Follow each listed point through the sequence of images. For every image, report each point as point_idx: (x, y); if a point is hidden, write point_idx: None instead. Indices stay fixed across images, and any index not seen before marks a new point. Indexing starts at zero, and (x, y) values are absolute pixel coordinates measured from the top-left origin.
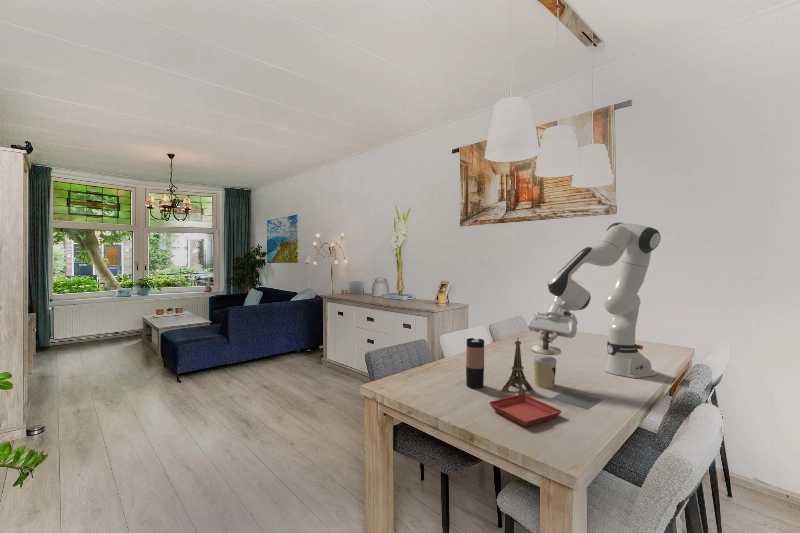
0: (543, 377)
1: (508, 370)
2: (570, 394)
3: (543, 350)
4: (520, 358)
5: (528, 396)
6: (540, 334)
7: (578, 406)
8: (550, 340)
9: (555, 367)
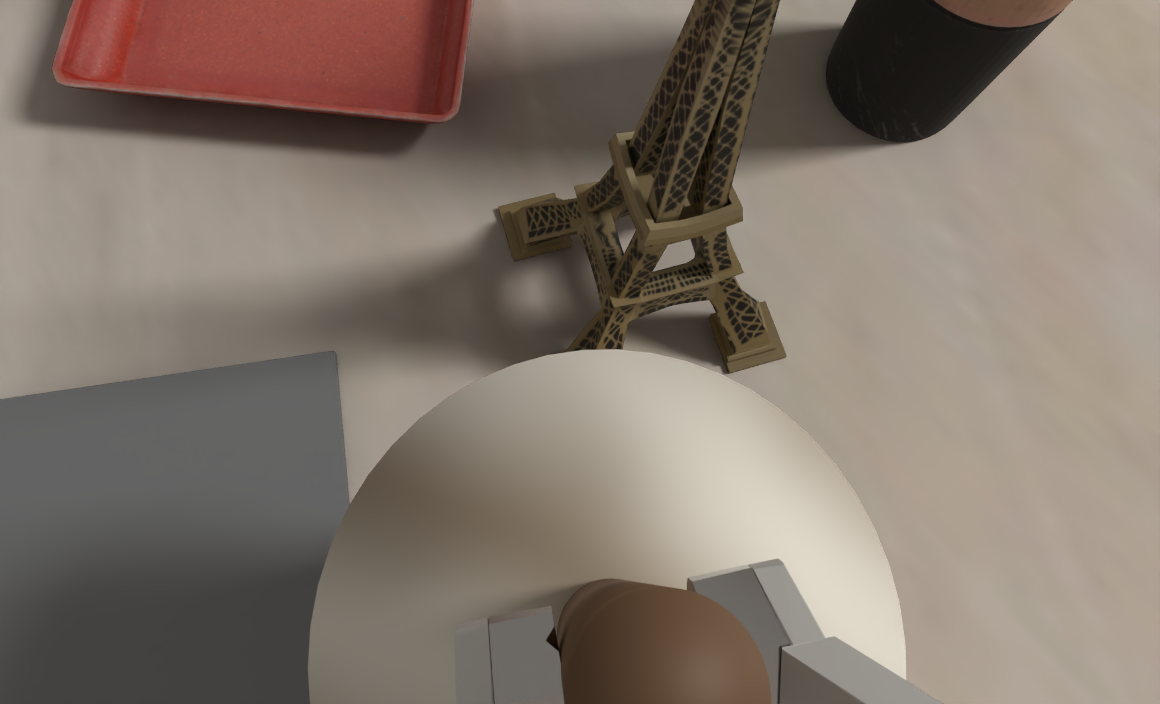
0: None
1: (1133, 689)
2: (267, 601)
3: (558, 487)
4: (672, 126)
5: (395, 111)
6: (855, 658)
7: (80, 394)
8: (463, 626)
9: None
